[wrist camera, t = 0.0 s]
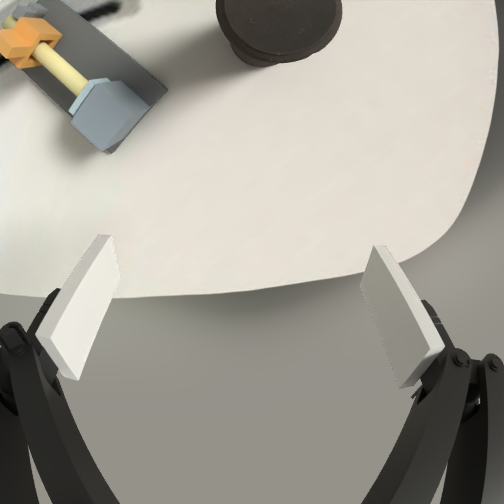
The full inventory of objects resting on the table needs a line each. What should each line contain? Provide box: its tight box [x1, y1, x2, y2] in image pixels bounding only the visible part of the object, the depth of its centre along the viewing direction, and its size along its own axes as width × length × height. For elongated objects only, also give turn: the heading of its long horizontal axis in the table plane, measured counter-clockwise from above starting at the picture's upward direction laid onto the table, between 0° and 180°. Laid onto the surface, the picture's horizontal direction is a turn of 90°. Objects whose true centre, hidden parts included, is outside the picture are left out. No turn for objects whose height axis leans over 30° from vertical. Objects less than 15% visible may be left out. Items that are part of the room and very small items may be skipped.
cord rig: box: [2, 0, 168, 154], centre depth 25 cm, size 30×12×8 cm, turn 42°
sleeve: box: [0, 17, 62, 69], centre depth 20 cm, size 6×6×10 cm
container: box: [216, 0, 342, 67], centre depth 21 cm, size 9×9×20 cm
